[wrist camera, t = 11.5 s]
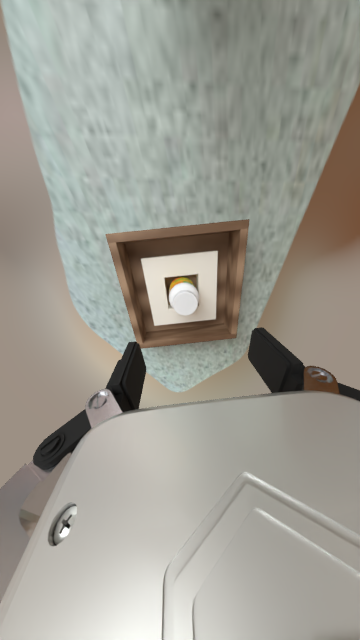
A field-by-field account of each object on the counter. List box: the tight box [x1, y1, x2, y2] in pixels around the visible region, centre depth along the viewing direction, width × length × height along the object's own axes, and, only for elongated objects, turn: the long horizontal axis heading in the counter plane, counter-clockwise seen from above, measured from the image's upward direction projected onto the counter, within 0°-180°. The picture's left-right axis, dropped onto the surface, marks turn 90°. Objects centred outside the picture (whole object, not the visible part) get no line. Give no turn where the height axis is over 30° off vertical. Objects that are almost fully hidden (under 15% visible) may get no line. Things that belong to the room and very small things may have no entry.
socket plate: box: [141, 251, 218, 326], centre depth 30 cm, size 14×14×2 cm
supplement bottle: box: [169, 276, 199, 316], centre depth 27 cm, size 5×5×10 cm
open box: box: [106, 219, 249, 348], centre depth 29 cm, size 22×22×6 cm
